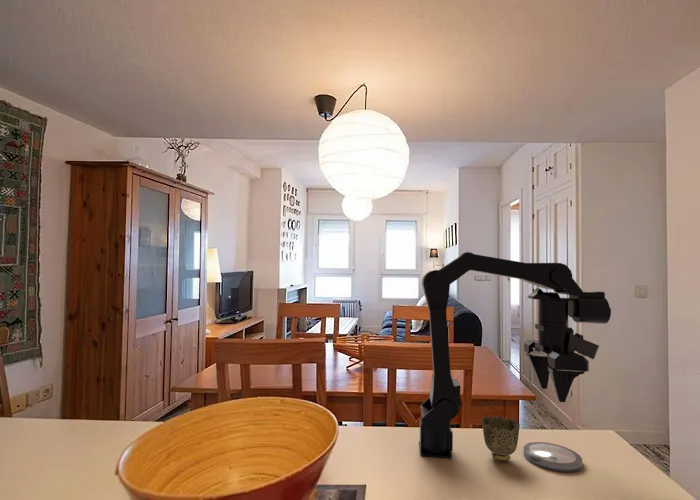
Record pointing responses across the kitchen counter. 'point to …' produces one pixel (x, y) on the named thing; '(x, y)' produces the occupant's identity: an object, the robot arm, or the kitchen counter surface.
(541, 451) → the gray-rimmed plate
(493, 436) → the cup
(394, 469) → the kitchen counter surface
